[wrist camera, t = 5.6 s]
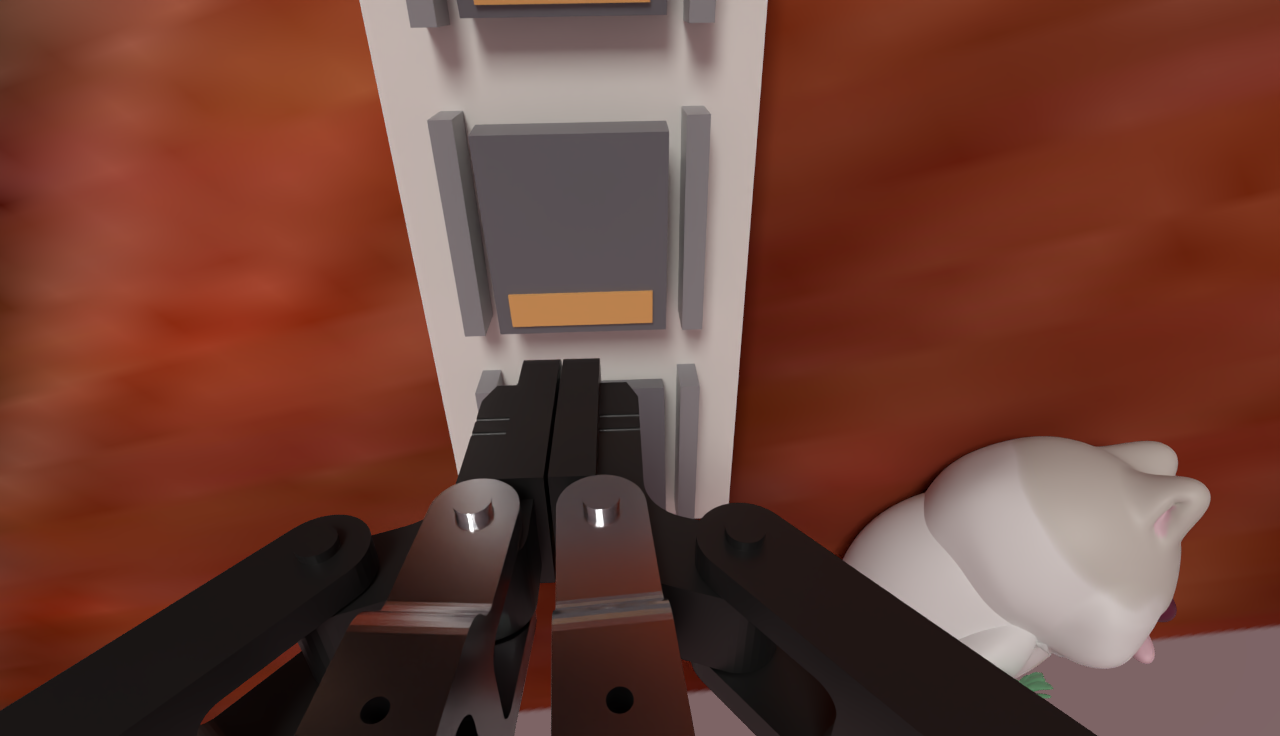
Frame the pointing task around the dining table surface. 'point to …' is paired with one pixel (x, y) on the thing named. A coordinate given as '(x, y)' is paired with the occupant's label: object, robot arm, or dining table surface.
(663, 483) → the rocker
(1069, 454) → the cat figurine
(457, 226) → the rocker switch panel
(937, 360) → the dining table surface
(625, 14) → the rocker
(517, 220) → the plate
